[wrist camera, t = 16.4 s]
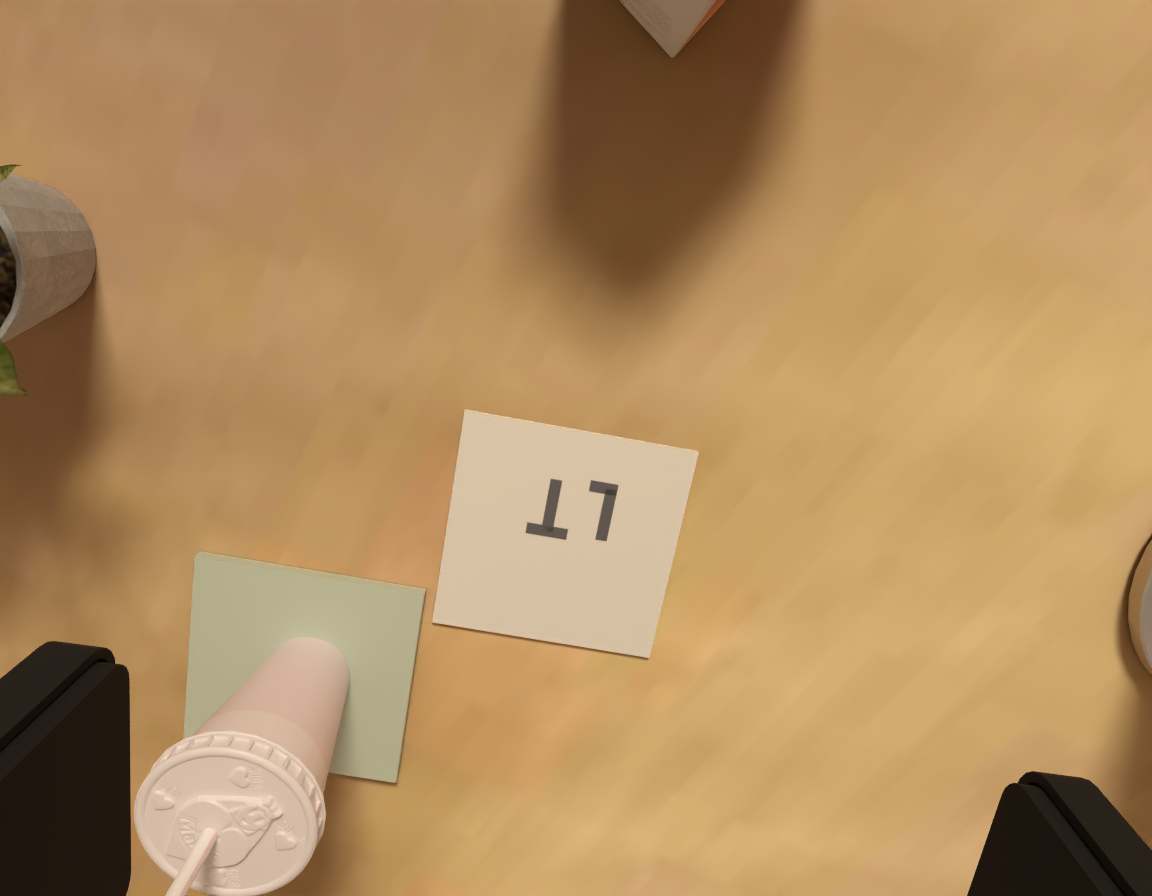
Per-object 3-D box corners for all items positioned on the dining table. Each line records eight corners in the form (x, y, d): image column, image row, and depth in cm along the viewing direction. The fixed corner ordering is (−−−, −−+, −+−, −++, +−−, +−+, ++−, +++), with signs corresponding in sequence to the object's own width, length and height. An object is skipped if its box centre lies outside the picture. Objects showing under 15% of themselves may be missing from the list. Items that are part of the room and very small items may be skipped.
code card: (698, 451, 36) (698, 452, 36) (648, 655, 39) (649, 658, 39) (465, 409, 35) (464, 410, 35) (432, 620, 38) (432, 622, 38)
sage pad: (426, 588, 38) (423, 594, 37) (398, 774, 41) (395, 782, 40) (200, 550, 37) (194, 556, 37) (188, 742, 40) (182, 750, 40)
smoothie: (211, 643, 38) (12, 890, 24) (335, 587, 37) (201, 811, 24) (284, 753, 40) (137, 1041, 26) (405, 702, 39) (316, 972, 25)
